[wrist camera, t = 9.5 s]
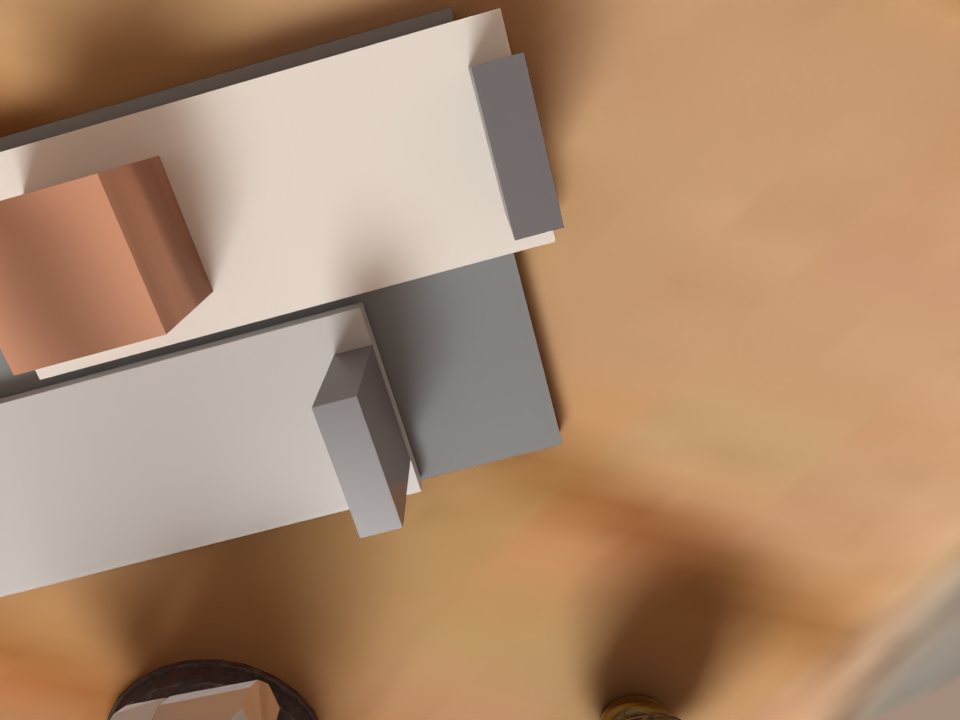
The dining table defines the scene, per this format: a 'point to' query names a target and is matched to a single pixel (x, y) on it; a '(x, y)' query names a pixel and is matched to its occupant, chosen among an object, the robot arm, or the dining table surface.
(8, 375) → the slate board
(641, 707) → the dark ornate pot
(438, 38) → the white strip
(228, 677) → the lantern
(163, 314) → the rust block
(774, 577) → the dining table surface
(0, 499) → the grey strip
